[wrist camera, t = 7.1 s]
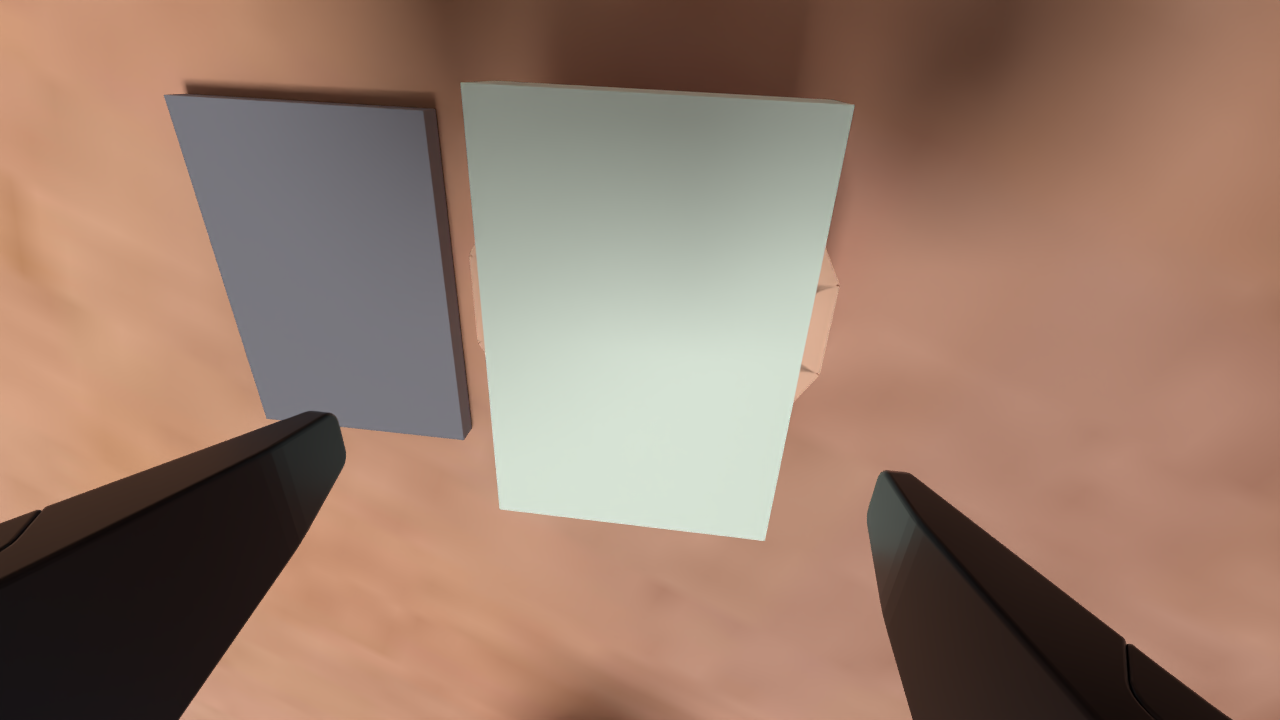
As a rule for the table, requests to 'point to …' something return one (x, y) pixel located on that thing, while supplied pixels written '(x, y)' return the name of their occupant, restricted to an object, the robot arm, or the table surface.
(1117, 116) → the table surface
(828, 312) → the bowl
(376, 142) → the mat
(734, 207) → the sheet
